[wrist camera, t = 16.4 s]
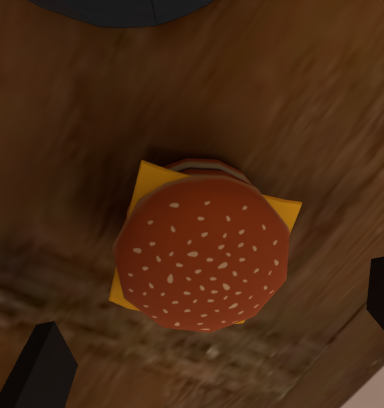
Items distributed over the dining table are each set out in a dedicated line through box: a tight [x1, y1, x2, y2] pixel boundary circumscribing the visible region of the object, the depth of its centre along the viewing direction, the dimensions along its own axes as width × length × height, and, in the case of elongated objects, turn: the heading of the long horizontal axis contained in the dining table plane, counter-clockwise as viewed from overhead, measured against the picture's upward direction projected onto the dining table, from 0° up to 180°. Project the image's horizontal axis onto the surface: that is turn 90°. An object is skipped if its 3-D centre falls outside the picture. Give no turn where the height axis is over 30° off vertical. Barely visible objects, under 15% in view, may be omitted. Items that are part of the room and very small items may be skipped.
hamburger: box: [109, 158, 302, 333], centre depth 16 cm, size 9×10×7 cm
